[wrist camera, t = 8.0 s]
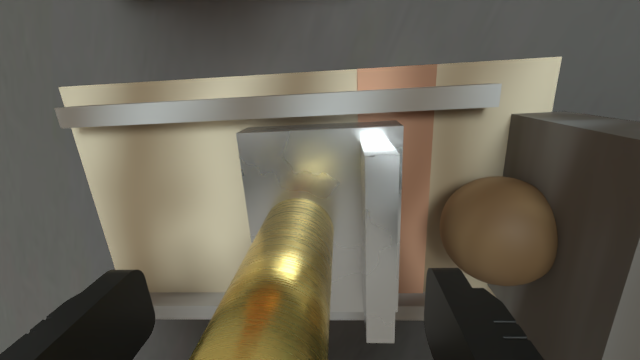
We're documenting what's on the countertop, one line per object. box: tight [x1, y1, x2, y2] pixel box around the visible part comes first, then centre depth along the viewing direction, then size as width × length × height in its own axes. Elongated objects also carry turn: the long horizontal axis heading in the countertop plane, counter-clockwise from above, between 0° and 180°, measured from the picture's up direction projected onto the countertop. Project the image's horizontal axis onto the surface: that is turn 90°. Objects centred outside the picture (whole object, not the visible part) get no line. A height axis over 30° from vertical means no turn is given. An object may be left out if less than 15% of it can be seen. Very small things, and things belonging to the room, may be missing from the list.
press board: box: [55, 57, 640, 360], centre depth 12 cm, size 20×12×8 cm, turn 93°
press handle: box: [189, 120, 404, 360], centre depth 8 cm, size 6×8×12 cm
